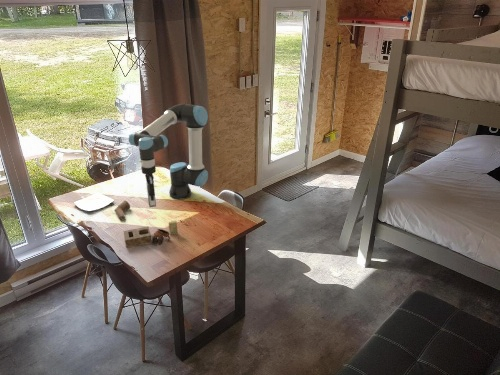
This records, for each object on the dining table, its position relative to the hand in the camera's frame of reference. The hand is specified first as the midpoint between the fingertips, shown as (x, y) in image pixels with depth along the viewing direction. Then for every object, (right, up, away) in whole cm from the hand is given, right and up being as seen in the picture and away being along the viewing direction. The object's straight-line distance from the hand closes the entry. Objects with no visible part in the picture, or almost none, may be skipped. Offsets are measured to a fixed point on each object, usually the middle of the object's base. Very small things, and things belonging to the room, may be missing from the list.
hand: (152, 203), depth 221 cm
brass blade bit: (+11, -18, +6) cm, 22 cm away
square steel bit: (0, -1, +1) cm, 2 cm away
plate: (-48, -3, +37) cm, 61 cm away
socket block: (-8, -21, -1) cm, 23 cm away
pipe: (-25, -8, +27) cm, 37 cm away
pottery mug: (+5, -23, -2) cm, 23 cm away
